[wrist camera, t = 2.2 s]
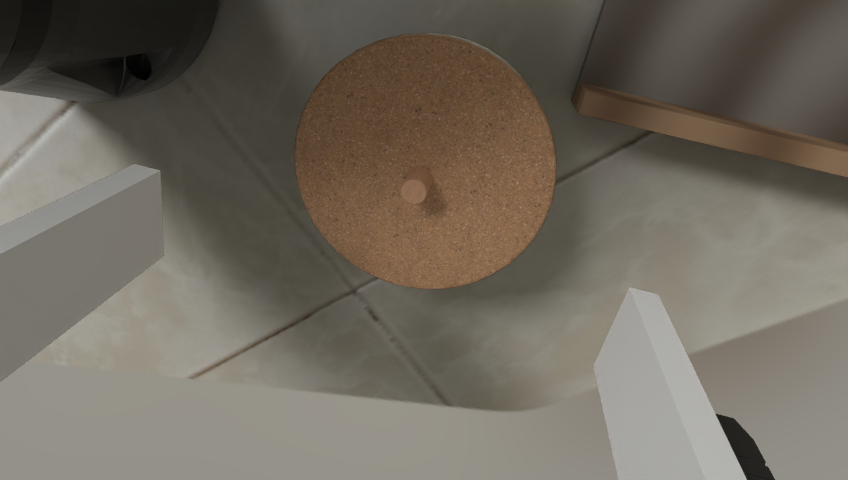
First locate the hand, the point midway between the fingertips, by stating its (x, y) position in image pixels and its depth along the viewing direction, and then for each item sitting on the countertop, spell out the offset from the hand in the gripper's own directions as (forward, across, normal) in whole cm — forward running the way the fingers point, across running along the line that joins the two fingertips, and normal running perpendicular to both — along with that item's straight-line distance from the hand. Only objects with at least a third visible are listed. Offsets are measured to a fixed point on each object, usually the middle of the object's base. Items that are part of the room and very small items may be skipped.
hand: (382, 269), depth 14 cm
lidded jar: (+15, 0, 0) cm, 15 cm away
